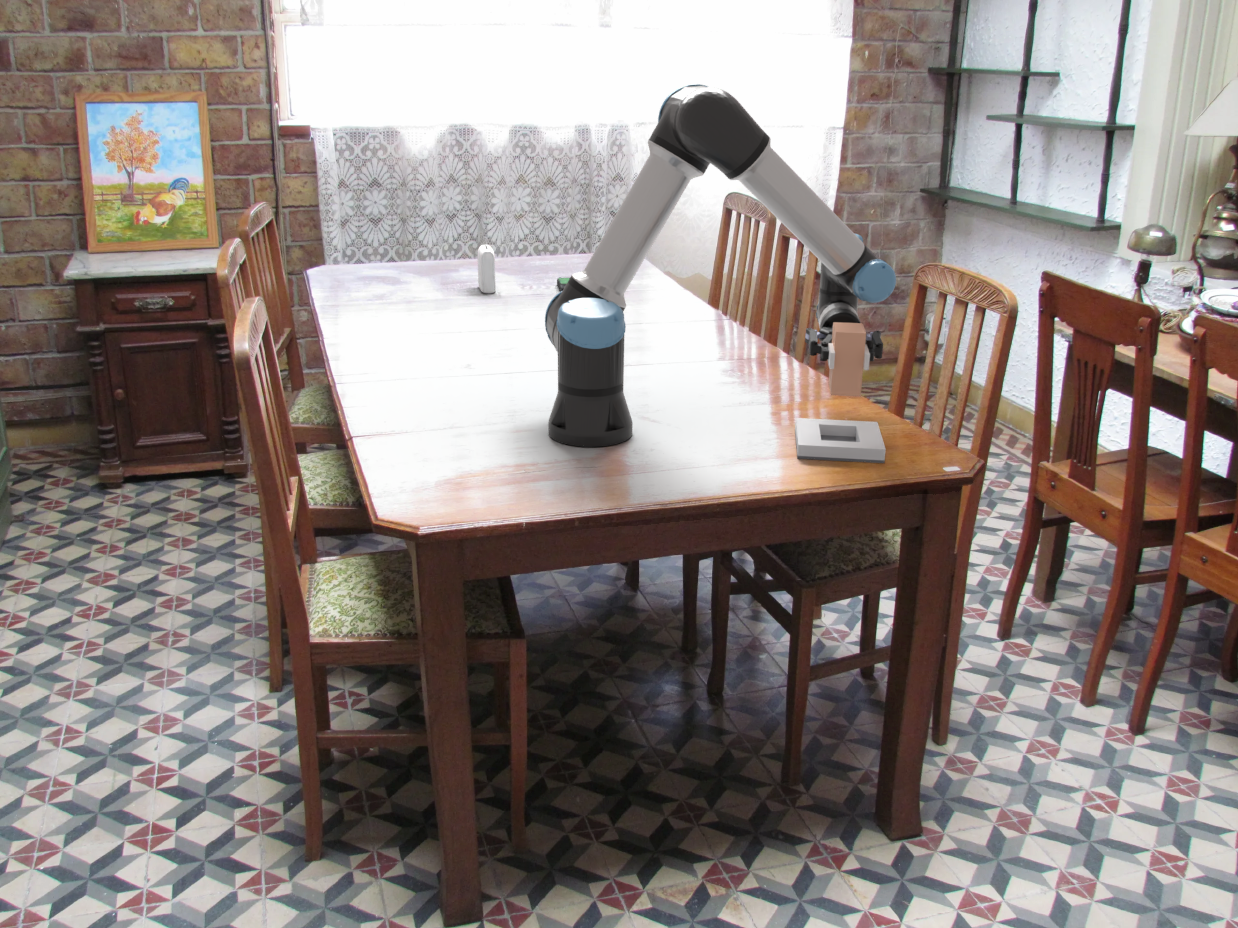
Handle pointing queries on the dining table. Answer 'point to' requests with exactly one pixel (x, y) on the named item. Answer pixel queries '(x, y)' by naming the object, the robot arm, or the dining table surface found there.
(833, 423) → the pocket plate
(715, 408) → the dining table surface
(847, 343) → the peach block
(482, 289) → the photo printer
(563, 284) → the disk drive
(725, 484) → the dining table surface
